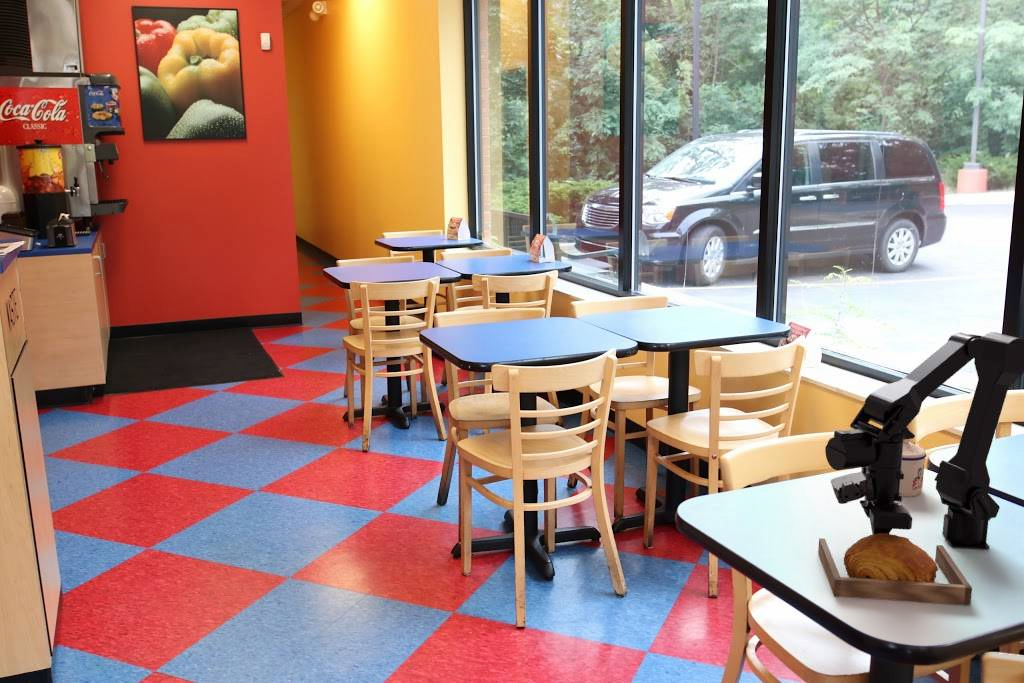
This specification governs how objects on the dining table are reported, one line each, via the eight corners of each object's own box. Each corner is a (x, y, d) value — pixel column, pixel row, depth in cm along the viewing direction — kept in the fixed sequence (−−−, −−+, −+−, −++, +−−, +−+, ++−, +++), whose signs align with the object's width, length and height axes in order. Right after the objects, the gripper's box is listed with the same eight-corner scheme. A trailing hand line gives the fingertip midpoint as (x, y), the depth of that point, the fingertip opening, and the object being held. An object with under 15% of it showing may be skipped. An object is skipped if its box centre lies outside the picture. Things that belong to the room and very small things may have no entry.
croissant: (829, 590, 154) (827, 548, 151) (872, 550, 163) (871, 511, 161) (913, 619, 143) (913, 575, 141) (953, 575, 153) (954, 533, 151)
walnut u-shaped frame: (941, 560, 159) (942, 545, 158) (970, 605, 144) (972, 588, 143) (818, 553, 162) (819, 538, 162) (833, 596, 147) (835, 579, 146)
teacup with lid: (921, 500, 186) (926, 447, 184) (874, 493, 190) (878, 441, 188) (925, 481, 196) (929, 431, 194) (880, 475, 201) (884, 425, 198)
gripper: (827, 443, 168) (822, 520, 171) (846, 480, 150) (840, 565, 154) (889, 446, 166) (883, 524, 170) (916, 483, 148) (908, 569, 152)
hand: (877, 544), depth 161 cm, fingers closed
